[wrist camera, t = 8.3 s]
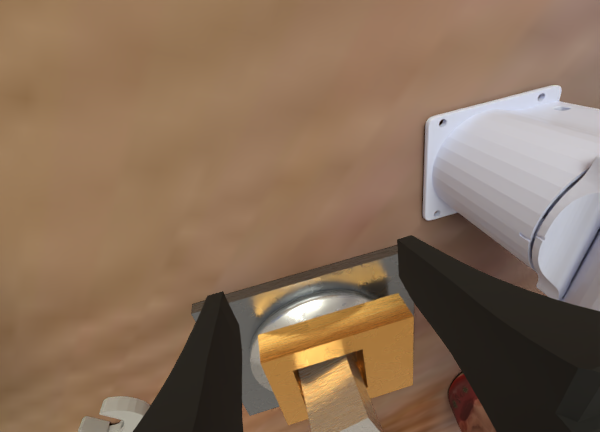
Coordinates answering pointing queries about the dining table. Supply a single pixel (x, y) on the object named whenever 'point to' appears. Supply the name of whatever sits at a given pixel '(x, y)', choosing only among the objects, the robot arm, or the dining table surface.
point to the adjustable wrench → (117, 415)
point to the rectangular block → (337, 397)
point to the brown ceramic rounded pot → (468, 407)
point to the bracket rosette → (324, 330)
